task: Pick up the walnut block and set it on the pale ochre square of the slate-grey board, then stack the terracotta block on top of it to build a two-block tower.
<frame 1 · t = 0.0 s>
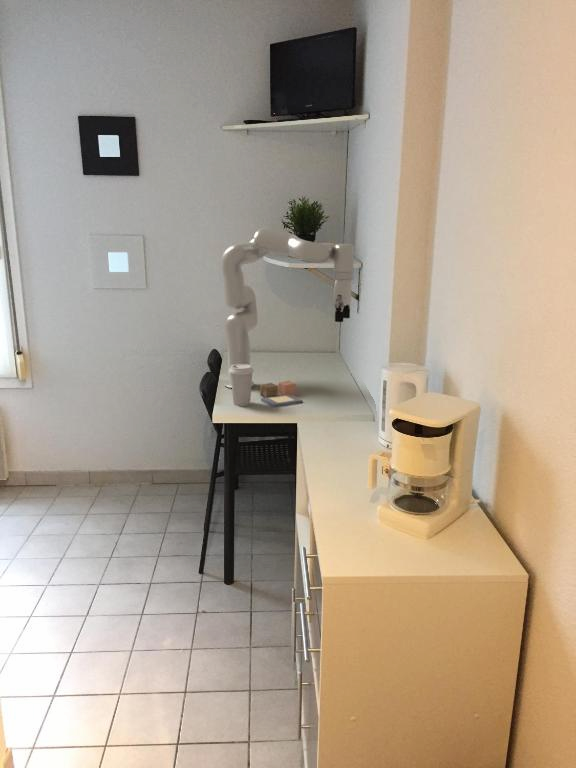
hand: (342, 319, 258), 31 cm above the table, tool pointing down, fingers open, 9 cm apart
coffee cup: (241, 404, 255), on the table
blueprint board: (281, 401, 257), on the table
terracotta block: (287, 394, 268), on the table
walnut block: (268, 396, 265), on the table
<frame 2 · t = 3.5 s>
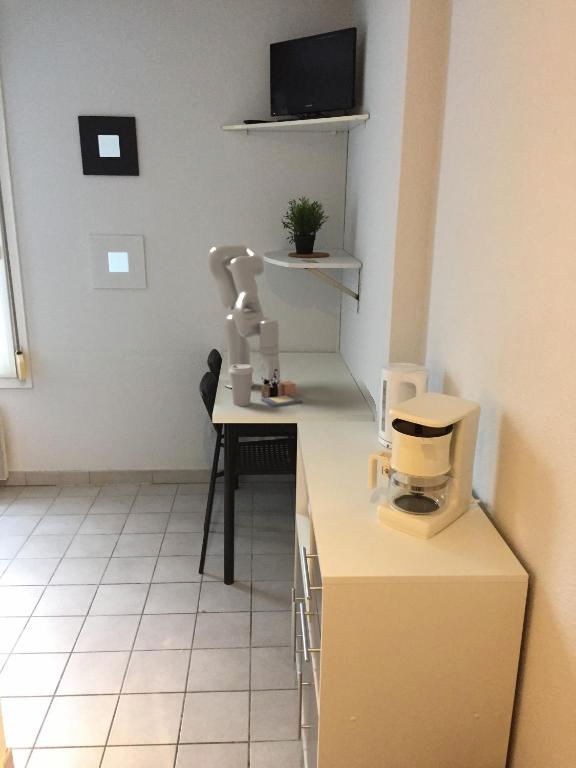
hand: (270, 394, 263), 1 cm above the table, tool pointing down, fingers closed on walnut block, 5 cm apart
walnut block: (270, 397, 264), on the table, touching gripper
everything else where it was.
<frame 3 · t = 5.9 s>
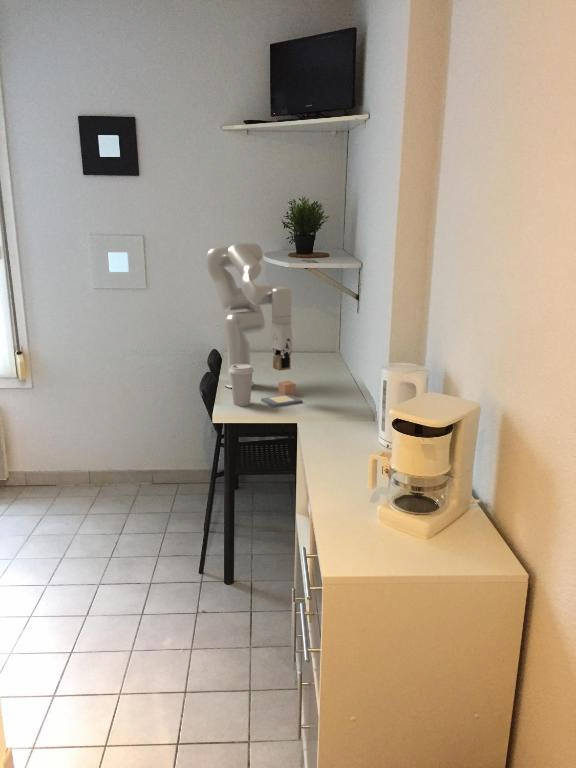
hand: (281, 365, 254), 15 cm above the table, tool pointing down, fingers closed on walnut block, 5 cm apart
walnut block: (281, 368, 254), point 13 cm above the table, touching gripper
everything else where it was.
when the fingers open (3 cm above the table, at t = 8.4 s): walnut block stays where it is, resting on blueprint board.
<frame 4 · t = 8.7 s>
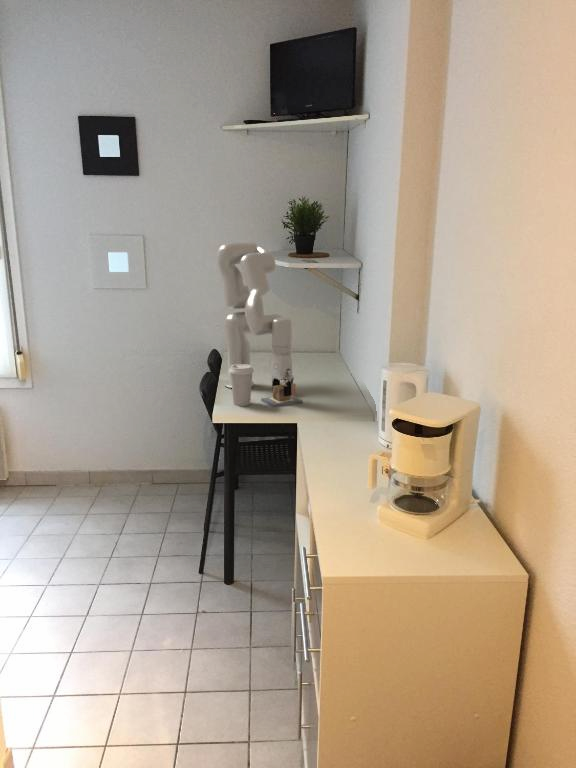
hand: (281, 392, 257), 4 cm above the table, tool pointing down, fingers open, 8 cm apart
walnut block: (281, 399, 257), point 1 cm above the table, touching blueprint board
everything else where it was.
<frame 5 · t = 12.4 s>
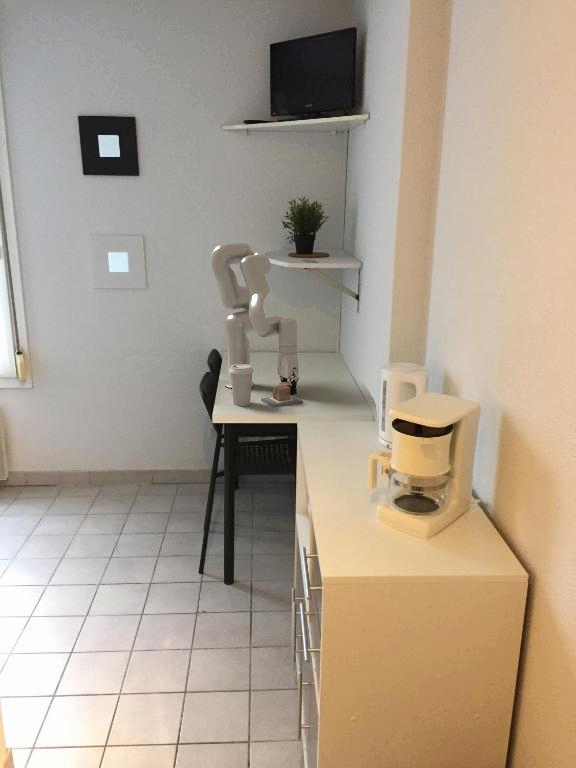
hand: (288, 392, 267), 1 cm above the table, tool pointing down, fingers open, 5 cm apart
terracotta block: (287, 394, 267), on the table, touching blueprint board, gripper
everything else where it was.
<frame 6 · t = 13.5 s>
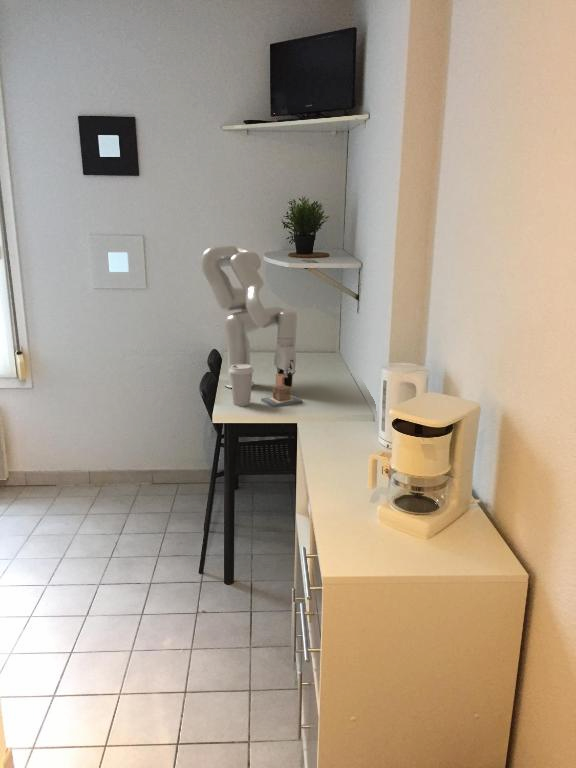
hand: (284, 384, 267), 4 cm above the table, tool pointing down, fingers closed on terracotta block, 4 cm apart
terracotta block: (283, 387, 267), point 3 cm above the table, touching gripper
everything else where it was.
when the fingers open (8 cm above the table, at t = 16.7 s): terracotta block stays where it is, resting on walnut block.
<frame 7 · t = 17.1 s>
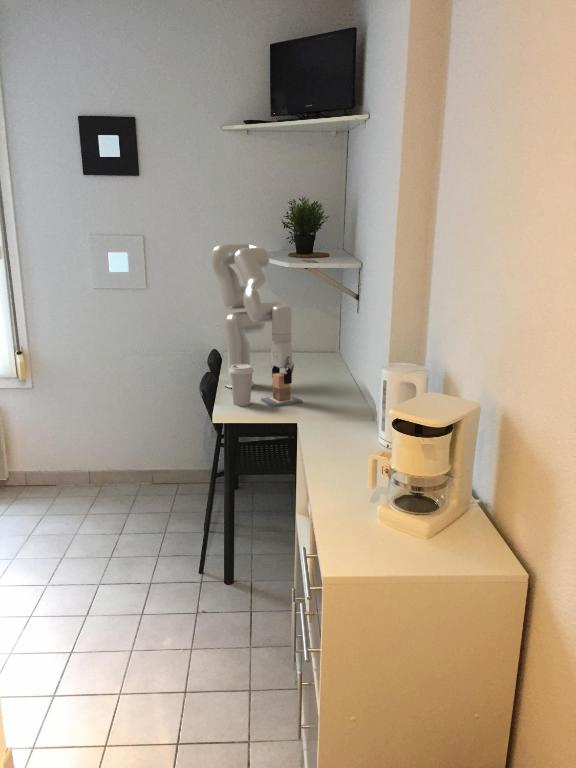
hand: (281, 380, 255), 9 cm above the table, tool pointing down, fingers open, 9 cm apart
terracotta block: (281, 386, 256), point 6 cm above the table, touching walnut block
walnut block: (281, 399, 257), point 1 cm above the table, touching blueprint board, terracotta block
everything else where it was.
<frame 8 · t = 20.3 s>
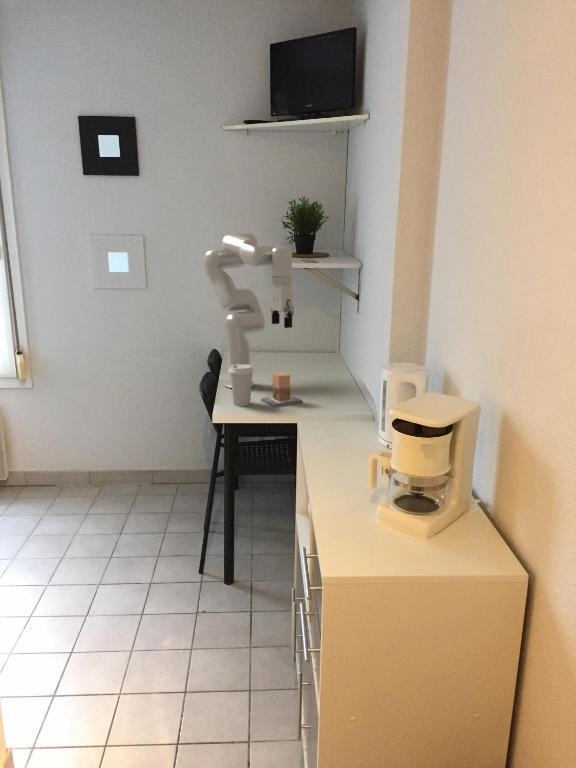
hand: (281, 325, 250), 30 cm above the table, tool pointing down, fingers open, 9 cm apart
nothing on the table moved.
at the end: walnut block 0.1 cm off-centre on the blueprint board, point 1.1 cm above the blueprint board's base; terracotta block 0.1 cm off-centre on the walnut block, point 5.0 cm above the walnut block's base; terracotta block tilted 0° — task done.
